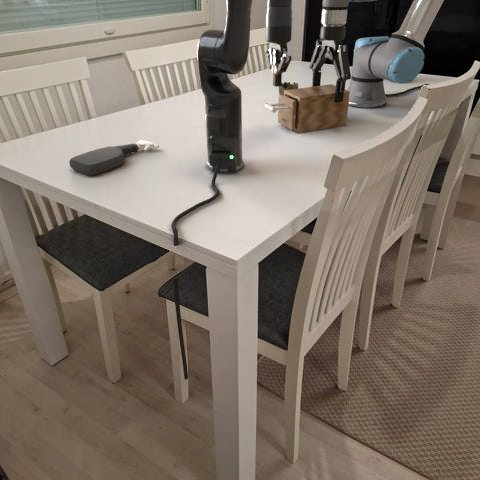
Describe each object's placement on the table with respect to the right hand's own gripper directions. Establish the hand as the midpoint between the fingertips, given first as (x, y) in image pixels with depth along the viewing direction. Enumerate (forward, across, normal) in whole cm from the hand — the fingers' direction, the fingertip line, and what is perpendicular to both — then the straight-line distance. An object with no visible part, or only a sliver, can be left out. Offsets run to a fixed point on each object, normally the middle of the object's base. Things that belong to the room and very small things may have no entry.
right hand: (326, 97), depth 146 cm
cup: (+8, +23, +1) cm, 25 cm away
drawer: (+8, 0, +10) cm, 12 cm away
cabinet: (+9, 0, +4) cm, 9 cm away
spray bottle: (+9, -3, +70) cm, 70 cm away
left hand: (-5, 0, +18) cm, 19 cm away
